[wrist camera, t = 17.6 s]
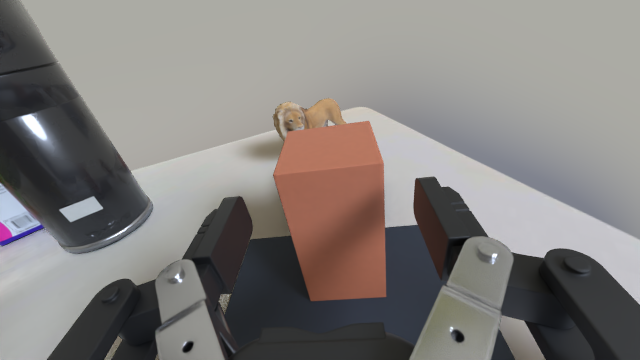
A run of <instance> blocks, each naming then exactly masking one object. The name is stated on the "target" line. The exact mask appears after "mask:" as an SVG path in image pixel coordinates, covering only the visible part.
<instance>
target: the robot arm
mask: <svg viewBox="0 0 640 360" xmlns="http://www.w3.org/2000/svg"><path fill="white" fill-rule="evenodd" d="M57 62H58V60H57V59H56V57H55V56H54V54H53V53H52V51H51V50H50V48H49V46H48V45H47V43H46V41H45V40H44V38H43V36H42V35H41V33H40V31H39V29H38V27H37V26H36V24H35V22H34V21H33V19H32V18H31V16H30V14H29V13H28V11H27V10H26V8H25V7H24V5H23V4H22V2H21V0H0V184H1V185H2V186H3V187H4V188H5V189H6V190H7V191H8V192H9V193H10V194H11V195H12V196H13V197H14V198H15V199H16V200H17V201H18V202H19V203H20V204H21V205H22V206H23V207H24V208H25V209H26V210H27V211H28V212H29V213H30V214H31V215H32V216H33V217H34V218H35V219H36V220H37V221H38V222H39V223H40V224H41V225H42V226H43V227H44V228H45V229H46V230H47V231H48V232H49V233H50V234H51V235H52V236H53V237H54V238H55V239H56V240H57V241H58V242H59V244H60V245H61V246H62V247H63V248H64V249H65V250H66V251H67V252H70V253H84V252H89V251H93V250H96V249H99V248H102V247H105V246H107V245H109V244H112V243H114V242H116V241H117V240H119V239H121V238H123V237H124V236H126V235H128V234H129V233H131V232H132V231H133V230H135V229H136V228H137V227H139V226H140V225H141V224H142V223H143V222H144V221H145V220H146V219H147V218H148V216H149V215H150V213H151V211H152V208H153V205H152V202H151V201H150V199H149V198H148V197H147V196H146V195H145V193H144V192H143V190H142V189H141V187H140V186H139V184H138V183H137V181H136V179H135V178H134V176H133V175H132V173H131V172H130V170H129V169H128V167H127V165H126V164H125V162H124V161H123V159H122V158H121V156H120V155H119V153H118V152H117V150H116V149H115V147H114V146H113V144H112V143H111V141H110V140H109V138H108V137H107V135H106V133H105V132H104V130H103V129H102V127H101V126H100V124H99V123H98V121H97V120H96V119H95V117H94V115H93V114H92V112H91V111H90V109H89V107H88V106H87V104H86V103H85V102H84V100H83V98H82V97H81V95H80V94H79V93H78V91H77V90H76V88H75V86H74V85H73V83H72V82H71V80H70V79H69V77H68V76H67V74H66V73H65V71H64V70H63V68H62V67H61V65H60V64H59V63H57ZM414 215H415V218H416V221H417V224H418V226H419V229H420V231H421V233H422V236H423V238H424V241H425V243H426V246H427V248H428V251H429V253H430V256H431V258H432V261H433V263H434V266H435V268H436V271H437V273H438V275H439V278H440V280H441V281H447V283H446V285H445V284H444V285H443V286H442V288H441V290H440V292H439V294H438V297H437V299H436V301H435V303H434V306H433V308H432V310H431V312H430V314H429V317H428V319H427V321H426V323H425V325H424V328H423V330H422V332H421V334H420V336H419V339H418V341H417V343H416V345H414V344H412V343H411V342H409V341H408V340H406V339H404V338H402V337H400V336H397V335H395V334H392V333H388V332H385V328H384V322H375V323H354V324H349V325H346V326H343V327H340V328H337V329H334V330H331V331H328V332H325V333H315V332H311V331H307V330H302V329H298V328H294V327H269V328H261V332H260V336H259V338H258V339H256V340H253V341H251V342H249V343H248V344H246V345H244V346H243V347H241V348H240V349H239V347H238V345H237V344H236V341H235V339H234V337H233V335H232V332H231V330H230V327H229V325H228V322H227V320H226V317H225V315H224V312H223V310H222V307H221V305H220V303H219V302H218V301H219V298H220V295H221V294H231V293H232V290H233V287H234V284H235V281H236V278H237V275H238V272H239V270H240V267H241V264H242V261H243V258H244V255H245V252H246V249H247V246H248V243H249V240H250V237H251V234H252V229H253V225H252V220H251V217H250V215H249V212H248V210H247V207H246V205H245V202H244V200H243V198H242V197H241V196H238V197H228V198H224V199H223V201H222V202H221V204H220V206H219V208H218V209H215V210H213V211H212V212H211V213H210V214H209V215H208V216H207V217H206V218H205V220H204V222H203V224H202V225H201V227H200V229H199V231H198V232H197V234H196V236H195V237H194V239H193V241H192V243H191V244H190V246H189V248H188V249H187V251H186V253H185V255H184V256H183V258H182V260H179V261H176V262H174V263H172V264H170V265H169V266H167V267H166V268H165V269H164V270H163V271H162V272H161V273H160V274H159V275H158V277H157V279H156V280H153V281H150V282H147V283H144V284H141V285H138V286H136V285H135V284H134V283H133V282H132V281H131V280H129V279H120V280H117V281H115V282H112V283H110V284H109V285H107V286H106V287H104V288H103V289H102V290H100V291H99V292H98V293H97V294H96V295H95V297H94V298H93V299H92V300H91V302H90V303H89V304H88V306H87V307H86V308H85V310H84V311H83V312H82V314H81V315H80V316H79V318H78V319H77V320H76V322H75V323H74V324H73V326H72V327H71V328H70V330H69V331H68V332H67V334H66V335H65V336H64V338H63V339H62V340H61V342H60V343H59V344H58V346H57V347H56V348H55V350H54V351H53V352H52V354H51V355H50V356H49V358H48V359H47V360H104V358H105V357H106V355H107V353H108V352H109V350H110V348H111V347H112V345H113V343H114V341H115V340H116V338H117V336H119V337H120V338H122V339H123V340H122V342H121V343H120V345H119V347H118V349H117V350H116V352H115V354H114V356H113V357H112V359H111V360H155V358H156V356H157V354H158V357H159V360H491V357H492V353H493V349H494V345H495V341H496V337H497V333H498V329H499V325H500V321H501V316H502V315H503V316H507V317H512V318H516V319H520V320H524V321H525V323H526V325H527V326H528V328H529V330H530V332H531V334H532V335H533V337H534V339H535V341H536V343H537V345H538V346H539V348H540V350H541V352H542V354H543V355H544V357H545V359H546V360H640V305H639V304H638V303H637V302H636V301H635V300H634V299H633V298H632V296H631V295H630V294H629V293H628V292H627V291H626V290H625V289H624V288H623V287H622V286H621V285H620V284H619V283H618V282H617V281H616V280H615V279H614V278H613V277H612V276H611V275H610V274H609V273H608V272H607V270H606V269H605V268H604V267H603V266H602V265H600V264H599V263H598V262H597V261H595V260H594V259H592V258H591V257H589V256H587V255H585V254H583V253H580V252H577V251H574V250H570V249H553V250H550V251H549V252H547V254H546V255H545V257H544V258H539V257H533V256H527V255H521V254H516V253H513V252H511V251H510V249H509V248H508V247H507V246H505V245H504V244H503V243H501V242H499V241H497V240H495V239H493V238H489V237H488V235H487V234H486V233H485V231H484V230H483V228H482V227H481V225H480V224H479V222H478V221H477V219H476V218H475V217H474V215H473V214H472V212H471V211H469V208H468V206H467V205H466V204H465V203H464V201H463V199H462V198H461V196H460V195H459V193H457V192H456V191H454V190H453V189H451V188H450V187H441V186H440V184H439V182H438V181H437V179H436V178H435V177H425V178H416V180H415V190H414Z"/></svg>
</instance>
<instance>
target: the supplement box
mask: <svg viewBox="0 0 640 360" xmlns="http://www.w3.org/2000/svg"><path fill="white" fill-rule="evenodd" d="M42 228H44V227H43V226H42V225H41V224H40V223H39V222H38V221H37V220H36V219H35V218H34V217H33V216H32V215H31V214H30V213H29V212H28V211H27V210H26V209H25V208H24V207H23V206H22V205H21V204H20V203H19V202H18V201H17V200H16V199H15V198H14V197H13V196H12V195H11V194H10V193H9V192H8V191H7V190H6V189H5V188H4V187H3V186H2V185H1V184H0V245H1V246H4V245H6V244H8V243H10V242H12V241H15V240H17V239H19V238H21V237H24V236H26V235H28V234H30V233H33V232H35V231H37V230H40V229H42Z"/></svg>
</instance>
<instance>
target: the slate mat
mask: <svg viewBox="0 0 640 360" xmlns="http://www.w3.org/2000/svg"><path fill="white" fill-rule="evenodd" d="M385 262H386V297H378V298H360V299H343V300H325V301H311V300H310V297H309V294H308V290H307V287H306V284H305V280H304V277H303V274H302V270H301V267H300V263H299V260H298V257H297V253H296V250H295V247H294V243H293V240H292V237H291V236H285V237H274V238H262V239H251V240H250V242H249V245H248V248H247V251H246V254H245V257H244V260H243V263H242V265H241V268H240V271H239V274H238V277H237V280H236V283H235V286H234V289H233V292H232V295H231V298H230V301H229V304H228V307H227V310H226V312H225V317H226V320H227V322H228V325H229V327H230V330H231V332H232V335H233V337H234V339H235V341H236V344H237V345H238V347H239V349H240V348H241V347H243V346H244V345H246V344H248V343H249V342H251V341H253V340H256V339H258V338H259V336H260V332H261V328H269V327H294V328H298V329H302V330H307V331H311V332H315V333H325V332H328V331H331V330H334V329H337V328H340V327H343V326H346V325H349V324H354V323H375V322H384V328H385V332H388V333H392V334H395V335H397V336H400V337H402V338H404V339H406V340H408V341H409V342H411V343H412V344H414V345H416V343H417V341H418V339H419V336H420V334H421V332H422V330H423V328H424V325H425V323H426V321H427V319H428V317H429V314H430V312H431V310H432V308H433V306H434V303H435V301H436V299H437V297H438V294H439V292H440V290H441V288H442V286H443V285H444V284H445V285H446V283H447V281H441V280H440V278H439V275H438V273H437V271H436V268H435V266H434V263H433V261H432V258H431V256H430V253H429V251H428V248H427V246H426V243H425V241H424V238H423V236H422V233H421V231H420V229H419V226H418V225H412V226H400V227H389V228H385ZM491 360H515V358H514V356H513V355H512V353H511V351H510V349H509V347H508V345H507V343H506V341H505V339H504V337H503V336H502V334H501V332H500V330H499V329H498V333H497V337H496V341H495V345H494V349H493V353H492V357H491Z"/></svg>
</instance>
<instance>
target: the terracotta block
mask: <svg viewBox="0 0 640 360" xmlns="http://www.w3.org/2000/svg"><path fill="white" fill-rule="evenodd" d="M273 176H274V180H275V183H276V187H277V190H278V193H279V197H280V200H281V203H282V207H283V210H284V213H285V217H286V220H287V223H288V227H289V230H290V233H291V237H292V240H293V243H294V247H295V250H296V253H297V257H298V260H299V263H300V267H301V270H302V274H303V277H304V280H305V284H306V287H307V290H308V294H309V297H310V300H311V301H325V300H343V299H360V298H378V297H386V262H385V210H384V163H383V160H382V157H381V154H380V151H379V148H378V145H377V142H376V139H375V136H374V133H373V131H372V128H371V125H370V122H369V121H365V122H357V123H349V124H342V125H334V126H327V127H319V128H311V129H304V130H296V131H289V132H288V133H287V136H286V139H285V142H284V144H283V147H282V150H281V153H280V156H279V159H278V162H277V165H276V168H275V171H274V174H273Z"/></svg>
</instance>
